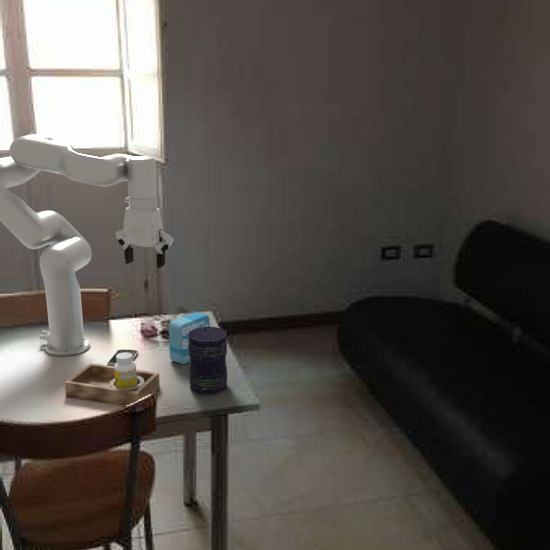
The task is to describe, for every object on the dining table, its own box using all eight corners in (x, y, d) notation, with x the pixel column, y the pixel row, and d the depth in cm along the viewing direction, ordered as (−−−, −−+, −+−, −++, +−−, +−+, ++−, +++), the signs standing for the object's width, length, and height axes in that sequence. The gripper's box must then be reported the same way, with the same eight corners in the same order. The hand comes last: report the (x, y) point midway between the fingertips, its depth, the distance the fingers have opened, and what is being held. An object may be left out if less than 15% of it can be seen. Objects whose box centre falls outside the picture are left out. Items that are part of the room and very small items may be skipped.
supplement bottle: (117, 386, 170) (114, 351, 167) (138, 385, 170) (136, 350, 167) (114, 396, 164) (112, 360, 162) (136, 395, 165) (134, 359, 162)
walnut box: (65, 396, 166) (64, 382, 164) (91, 376, 177) (90, 363, 175) (137, 408, 160) (137, 393, 159) (159, 387, 171) (159, 373, 170)
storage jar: (231, 393, 168) (230, 338, 164) (193, 398, 166) (191, 343, 161) (223, 376, 178) (222, 324, 173) (186, 380, 175) (185, 328, 171)
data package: (180, 366, 184) (179, 326, 180) (169, 361, 186) (168, 322, 183) (210, 352, 193) (210, 314, 189) (199, 348, 195) (198, 310, 192)
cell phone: (139, 354, 192) (139, 349, 192) (127, 370, 182) (127, 366, 181) (118, 353, 193) (118, 348, 192) (105, 369, 182) (105, 364, 182)
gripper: (107, 203, 176) (110, 264, 181) (165, 208, 171) (166, 271, 176) (122, 198, 183) (124, 257, 188) (178, 203, 177) (179, 264, 183)
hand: (145, 264), depth 182 cm, fingers open, 9 cm apart
